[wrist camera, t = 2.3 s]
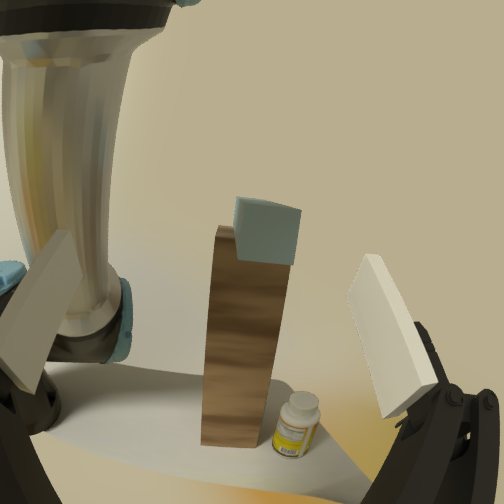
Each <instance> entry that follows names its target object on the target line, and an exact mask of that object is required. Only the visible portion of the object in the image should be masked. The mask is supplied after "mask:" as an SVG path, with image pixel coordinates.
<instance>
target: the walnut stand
mask: <svg viewBox="0 0 504 504" xmlns="http://www.w3.org/2000/svg"><path fill="white" fill-rule="evenodd" d="M290 266H291V265H284V264H274V263H264V262H255V261H245V260H238V257H237V250H236V242H235V234H234V227H230V226H221V225H219V226H218V229H217V232H216V236H215V244H214V253H213V264H212V274H211V285H210V297H209V309H208V321H207V334H206V350H205V364H204V381H203V400H202V422H201V445H206V446H218V447H236V448H256V445H257V440H258V436H259V432H260V427H261V422H262V418H263V413H264V408H265V404H266V399H267V394H268V389H269V384H270V379H271V374H272V368H273V364H274V359H275V353H276V348H277V342H278V337H279V331H280V326H281V320H282V315H283V309H284V302H285V297H286V291H287V285H288V279H289V273H290Z"/></svg>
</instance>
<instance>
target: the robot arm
mask: <svg viewBox="0 0 504 504" xmlns="http://www.w3.org/2000/svg"><path fill="white" fill-rule="evenodd" d="M200 1H201V0H0V56H1V57H2V59H3V75H2V122H3V138H4V148H5V158H6V166H7V173H8V179H9V186H10V191H11V196H12V202H13V207H14V211H15V215H16V220H17V224H18V228H19V232H20V236H21V240H22V243H23V247H24V250H25V254H26V257H27V260H28V264H29V267H30V268H29V270H28V271H27V270H26V268H25V265H24V264H23V263H21V262H17V261H2V262H0V504H62V502H61V501H60V499H59V497H58V495H57V493H56V492H55V490H54V488H53V486H52V485H51V483H50V481H49V479H48V477H47V475H46V473H45V471H44V469H43V466H42V464H41V463H40V460H39V458H38V456H37V454H36V451H35V449H34V446H33V444H32V442H31V439H30V437H29V436H31V435H35V434H38V433H40V432H42V431H44V430H46V429H47V428H49V427H50V426H51V425H52V424H53V423H54V422H55V421H56V419H57V417H58V416H59V413H60V409H61V402H60V398H59V395H58V391H57V389H56V386H55V385H54V383H53V381H52V380H51V378H50V377H49V375H48V374H47V372H46V371H45V369H44V365H45V363H46V361H47V362H73V363H100V364H108V363H110V362H120V361H123V360H124V359H126V358H127V356H128V354H129V352H130V348H131V342H132V333H131V331H132V326H133V304H132V293H131V287H130V284H129V282H128V281H127V280H126V279H124V278H120V277H118V275H117V273H116V271H115V270H114V268H113V267H112V266H111V265H110V264H109V263H108V219H109V198H110V184H111V173H112V162H113V153H114V145H115V138H116V130H117V124H118V118H119V112H120V105H121V101H122V95H123V90H124V85H125V81H126V76H127V72H128V67H129V63H130V59H131V55H132V53H133V51H134V50H135V49H136V48H137V47H138V46H140V45H141V44H143V43H144V42H146V41H148V40H149V39H151V38H152V37H154V36H156V35H157V34H159V33H161V32H162V31H163V30H164V28H165V25H166V22H167V19H168V16H169V13H170V11H171V8H172V6H173V5H175V4H177V5H179V6H180V7H181V8H182V7H185V6H192V5H195V4H197V3H199V2H200ZM346 299H347V301H348V304H349V307H350V310H351V313H352V316H353V319H354V322H355V325H356V328H357V332H358V335H359V338H360V341H361V344H362V347H363V351H364V354H365V357H366V360H367V364H368V367H369V371H370V374H371V378H372V381H373V385H374V389H375V392H376V396H377V399H378V403H379V407H380V411H381V415H382V419H386V418H391V417H395V416H399V415H400V414H401V413H403V412H404V411H405V410H407V413H408V416H406V417H405V418H404V419H402V420H401V421H400V422H398V423H397V424H396V426H395V428H397V427H399V426H400V425H402V426H401V428H400V431H399V433H398V435H397V437H396V439H395V442H394V444H393V446H392V448H391V450H390V452H389V454H388V456H387V458H386V460H385V462H384V464H383V466H382V468H381V470H380V471H379V473H378V475H377V477H376V478H375V480H374V482H373V484H372V485H371V487H370V489H369V491H368V492H367V494H366V496H365V497H364V499H363V500H362V502H361V504H494V501H495V493H496V486H497V477H498V466H499V446H500V419H499V418H500V416H499V403H498V399H497V396H496V394H495V393H494V392H493V391H491V390H490V389H484V390H482V391H481V392H480V393H478V394H477V395H470V394H464V393H463V392H462V390H461V389H460V388H459V387H458V386H457V385H455V384H452V383H451V384H450V383H449V381H448V379H447V377H446V374H445V371H444V369H443V366H442V364H441V362H440V359H439V357H438V354H437V352H435V348H434V345H433V344H432V343H431V342H432V341H431V339H430V337H429V334H428V332H427V330H426V329H425V328H424V327H423V326H422V325H421V323H420V322H413V320H412V318H411V316H410V314H409V312H408V310H407V308H406V306H405V304H404V302H403V299H402V297H401V295H400V293H399V291H398V289H397V287H396V285H395V283H394V282H393V280H392V278H391V276H390V274H389V272H388V270H387V268H386V266H385V264H384V263H383V261H382V259H381V257H380V255H373V254H365V256H364V258H363V260H362V263H361V265H360V267H359V269H358V272H357V274H356V276H355V278H354V281H353V283H352V285H351V287H350V289H349V291H348V293H347V295H346ZM469 432H470V439H467V434H468V433H469Z"/></svg>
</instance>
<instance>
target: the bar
mask: <svg viewBox="0 0 504 504" xmlns="http://www.w3.org/2000/svg"><path fill="white" fill-rule="evenodd" d="M300 218H301V210H300V209H296V208H292V207H289V206H285V205H282V204H278V203H274V202H270V201H266V200H260V199H253V198H244V197H236V206H235V214H234V222H233V226H234V234H235V242H236V250H237V257H238V260H245V261H255V262H264V263H274V264H284V265H293V264H294V258H295V252H296V245H297V238H298V230H299V224H300Z"/></svg>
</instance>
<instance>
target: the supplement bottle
mask: <svg viewBox="0 0 504 504" xmlns="http://www.w3.org/2000/svg"><path fill="white" fill-rule="evenodd" d="M318 404H319V400H318V398H317V397H316V396H315V395H314V394H311V393H309V392H305V391H298V392H294V393H293V394H291V396H290V398H289V401H288V402H286V403H285V404H283V406H282V407H281V410H280V414H279V418H278V422H277V426H276V430H275V433H274V437H273V441H272V447H273V449H274V451H275V452H276V453H277V454H278V455H279V456H281V457H284V458H288V459H295V458H299V457H302V456H303V455H305V454H306V452H307V451H308V449H309V446H310V443H311V441H312V438H313V436H314V433H315V430H316V428H317V425H318V422H319V419H320V411H319V409H318Z"/></svg>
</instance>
